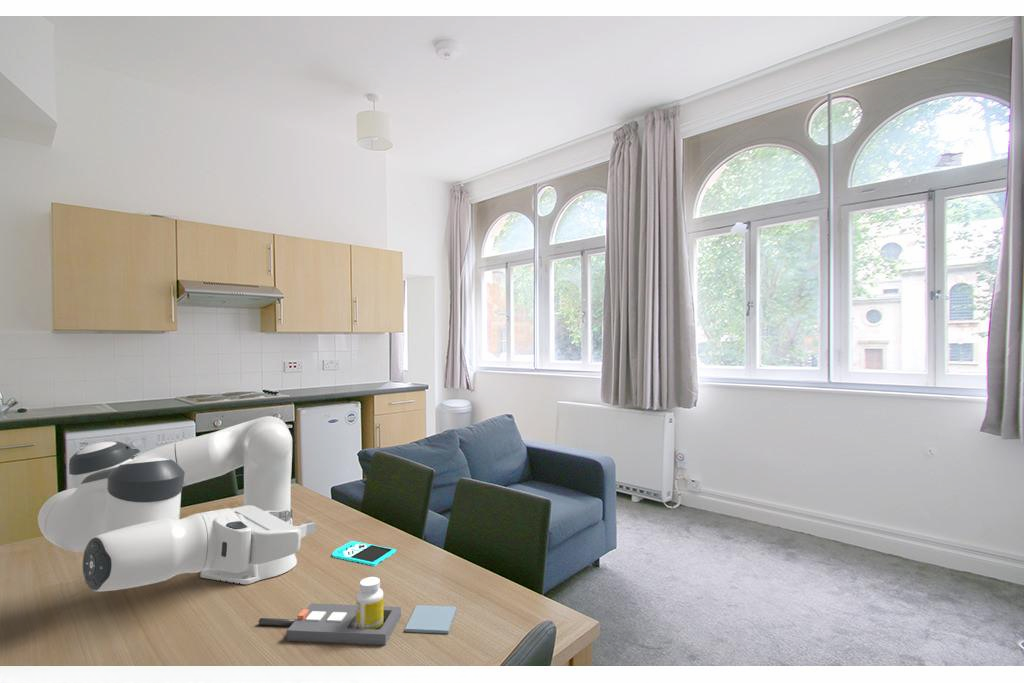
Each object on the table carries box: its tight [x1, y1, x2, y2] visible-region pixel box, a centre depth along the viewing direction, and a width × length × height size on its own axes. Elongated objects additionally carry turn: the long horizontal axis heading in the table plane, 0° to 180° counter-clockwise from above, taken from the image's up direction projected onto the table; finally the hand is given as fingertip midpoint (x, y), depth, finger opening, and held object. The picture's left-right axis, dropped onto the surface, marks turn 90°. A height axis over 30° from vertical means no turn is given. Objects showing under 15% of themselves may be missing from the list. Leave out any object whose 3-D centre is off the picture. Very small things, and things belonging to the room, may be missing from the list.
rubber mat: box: [404, 604, 458, 634], centre depth 103 cm, size 9×9×1 cm
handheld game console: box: [331, 540, 397, 567], centre depth 135 cm, size 10×16×1 cm, turn 67°
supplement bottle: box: [355, 576, 384, 630], centre depth 99 cm, size 5×5×10 cm
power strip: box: [258, 602, 402, 646], centre depth 100 cm, size 28×10×3 cm, turn 86°
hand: (301, 520), depth 89 cm, fingers open, 8 cm apart
